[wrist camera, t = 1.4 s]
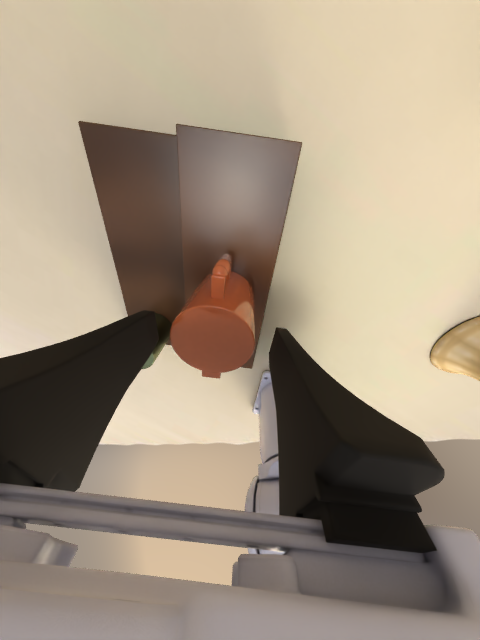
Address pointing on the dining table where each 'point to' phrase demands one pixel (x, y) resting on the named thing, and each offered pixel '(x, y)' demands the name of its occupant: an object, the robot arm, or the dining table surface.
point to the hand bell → (459, 350)
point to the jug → (216, 322)
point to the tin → (164, 336)
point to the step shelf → (190, 209)
